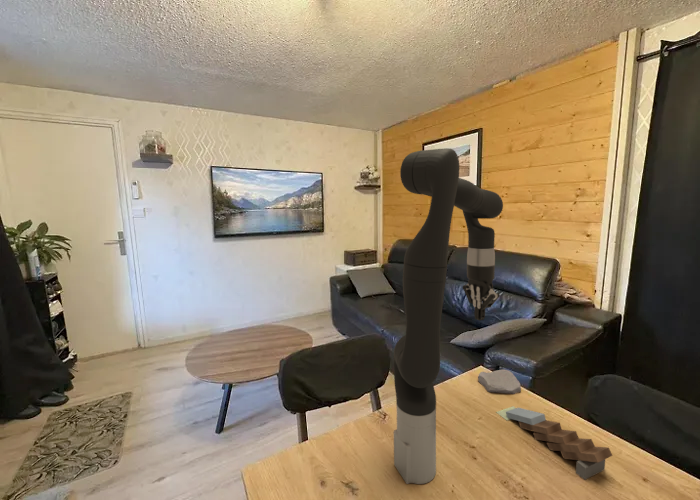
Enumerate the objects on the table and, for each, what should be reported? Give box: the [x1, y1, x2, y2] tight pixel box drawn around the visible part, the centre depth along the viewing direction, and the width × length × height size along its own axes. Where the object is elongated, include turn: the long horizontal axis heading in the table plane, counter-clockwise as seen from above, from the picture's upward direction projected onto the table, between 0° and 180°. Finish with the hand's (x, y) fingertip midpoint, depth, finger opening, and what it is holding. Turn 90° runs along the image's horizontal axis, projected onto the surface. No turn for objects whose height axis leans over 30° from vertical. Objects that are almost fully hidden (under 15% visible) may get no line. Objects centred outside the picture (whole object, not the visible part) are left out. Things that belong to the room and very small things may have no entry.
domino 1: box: [506, 407, 547, 425], centre depth 90 cm, size 5×2×9 cm
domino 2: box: [518, 419, 563, 435], centre depth 86 cm, size 5×2×9 cm
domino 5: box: [560, 446, 613, 462], centre depth 75 cm, size 5×2×9 cm
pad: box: [495, 405, 516, 421], centre depth 95 cm, size 7×4×1 cm, turn 111°
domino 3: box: [532, 429, 579, 444], centre depth 82 cm, size 5×2×9 cm
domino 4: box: [546, 438, 596, 453], centre depth 78 cm, size 5×2×9 cm
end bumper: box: [575, 459, 606, 480], centre depth 74 cm, size 7×2×3 cm, turn 111°
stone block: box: [477, 369, 522, 395], centre depth 109 cm, size 12×5×10 cm
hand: (479, 319), depth 94 cm, fingers closed
